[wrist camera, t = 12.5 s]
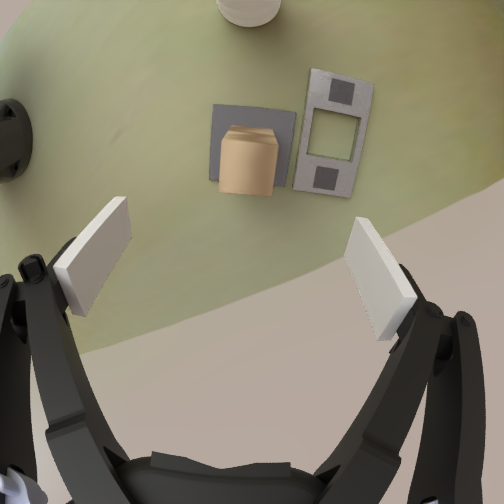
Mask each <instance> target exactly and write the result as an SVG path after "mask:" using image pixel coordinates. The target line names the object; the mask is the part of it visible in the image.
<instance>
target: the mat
mask: <svg viewBox="0 0 504 504" xmlns="http://www.w3.org/2000/svg"><path fill="white" fill-rule="evenodd" d="M295 117H296V112H290V111H283V110H275V109H267V108H257V107H246V106H233V105H215V104H214V105H213V115H212V130H211V147H210V167H209V180H219V175H220V158H221V143H222V139H223V138H224V136H225V134H226V133H227V131H228V130H229V128H230V127H231V125H235V126H248V127H258V128H267V129H273V132H274V135H275V137H276V140H277V143H278V145H279V147H278V154H277V161H276V168H275V176H274V183H273V185H274V186H283V187H285V183H286V177H287V170H288V164H289V157H290V151H291V144H292V137H293V131H294V124H295Z"/></svg>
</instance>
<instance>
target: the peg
mask: <svg viewBox="0 0 504 504" xmlns="http://www.w3.org/2000/svg"><path fill="white" fill-rule="evenodd" d="M278 147H279V145H278V143H277V140H276V137H275V135H274V132H273V129H267V128H258V127H248V126H235V125H231V127H230V128H229V130H228V131H227V133H226V134H225V136H224V138H223V139H222V143H221V158H220V175H219V192H226V193H238V194H249V195H259V196H269V197H272V190H273V183H274V176H275V168H276V161H277V154H278Z"/></svg>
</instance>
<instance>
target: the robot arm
mask: <svg viewBox="0 0 504 504" xmlns="http://www.w3.org/2000/svg"><path fill="white" fill-rule="evenodd" d="M31 150H32V130H31V125H30V121H29V117H28V115H27V112H26V110H25V109H24V107H23V106H22V105H21V104H20V103H19V102H18V101H16V100H14V99H6V100H2V101H0V184H1V183H6V182H10V181H12V180H13V179H15V178H16V177H18V176H20V175H21V174H22V173H23V172H24V170H25V169H26V167H27V165H28V162H29V159H30V156H31ZM131 239H132V234H131V228H130V220H129V213H128V204H127V197H114V198H113V199H112V200H111V201H110V202H109V203H108V204H107V205H106V206H105V207H104V208H103V209H102V210H101V211H100V213H99V214H98V215H97V216H96V217H95V218H94V219H93V220H92V221H91V222H90V223H89V224H88V225H87V227H86V228H85V229H84V230H83V231H82V232H81V233H80V234H79V235H78V237H74V238H72V239H71V240H69V241H68V242H67V243H66V244H65V245H64V246H63V247H62V250H60V251H59V252H58V254H57V255H56V256H55V257H54V258H53V259H52V260H51V262H50V263H49V264H48V265H47V267H46V265H45V263H44V260H43V257H42V255H40V254H33V255H29V256H28V257H26V258H24V259H23V260H22V261H21V262H20V264H19V266H18V270H19V272H20V274H21V277H22V279H23V282H15V279H14V277H13V275H11V274H5V275H2V276H1V277H0V504H47V502H48V498H47V495H46V494H45V492H44V491H42V490H41V488H40V487H39V485H38V484H37V466H36V458H35V451H34V444H33V435H32V424H31V410H30V364H31V355H32V361H33V366H34V371H35V375H36V381H37V385H38V389H39V393H40V396H41V401H42V404H43V407H44V411H45V414H46V417H47V421H48V424H49V428H48V429H47V430H46V431H45V436H46V439H47V443H48V445H49V448H50V451H51V453H52V456H53V458H54V461H55V463H56V466H57V468H58V470H59V472H60V475H61V477H62V479H63V481H64V483H65V485H66V487H67V489H68V491H69V493H70V495H71V497H72V500H71V501H69V502H68V503H66V504H379V502H380V500H381V499H382V497H383V495H384V494H385V492H386V491H387V489H388V487H389V485H390V484H391V482H392V480H393V478H394V476H395V474H396V473H397V470H398V469H399V467H400V464H401V457H400V456H399V451H400V449H401V447H402V445H403V442H404V440H405V438H406V436H407V434H408V432H409V429H410V427H411V425H412V422H413V420H414V417H415V415H416V412H417V409H418V407H419V404H420V402H421V399H422V396H423V394H424V391H425V388H426V385H427V397H426V407H425V415H424V423H423V430H422V436H421V442H420V447H419V453H418V457H417V462H416V466H415V471H414V475H413V479H412V482H411V486H410V491H409V495H408V501H407V504H483V501H482V487H481V486H482V485H481V477H482V470H483V460H484V450H485V429H486V424H485V423H486V416H485V415H486V411H485V410H486V409H485V389H484V388H485V387H484V375H483V366H482V358H481V351H480V345H479V338H478V333H477V328H476V323H475V321H474V319H473V318H472V316H471V315H469V314H468V313H466V312H464V311H458V312H457V313H456V315H455V316H454V318H451V317H448V316H444V315H443V312H442V310H441V309H440V308H439V307H438V306H437V305H436V304H434V303H432V302H429V301H426V299H425V297H424V296H423V294H422V293H421V291H420V289H419V287H418V286H417V284H416V282H415V281H414V279H412V276H411V274H410V273H409V271H408V270H407V269H406V268H405V267H404V266H403V265H402V264H398V263H397V262H396V260H395V259H394V257H393V255H392V254H391V252H390V251H389V249H388V248H387V246H386V245H385V243H384V242H383V240H382V239H381V237H380V236H379V234H378V233H377V231H376V230H375V228H374V227H373V225H372V224H371V223H370V221H369V220H368V218H362V217H356V218H355V222H354V225H353V228H352V231H351V235H350V238H349V241H348V244H347V247H346V250H345V253H344V258H345V260H346V262H347V265H348V267H349V270H350V272H351V274H352V276H353V279H354V281H355V284H356V286H357V289H358V291H359V294H360V296H361V299H362V302H363V304H364V307H365V309H366V312H367V314H368V317H369V320H370V322H371V325H372V328H373V331H374V333H375V336H376V339H377V341H384V340H385V341H386V340H391V339H392V337H393V336H394V334H395V333H396V332H397V334H398V336H399V339H398V340H397V342H396V343H395V344H394V346H393V347H392V349H391V350H390V352H389V353H390V356H389V358H388V360H387V362H386V364H385V367H384V368H383V371H382V372H381V374H380V376H379V378H378V380H377V382H376V384H375V386H374V388H373V389H372V391H371V393H370V395H369V397H368V399H367V400H366V402H365V404H364V405H363V407H362V409H361V410H360V412H359V414H358V415H357V417H356V419H355V420H354V422H353V423H352V425H351V426H350V428H349V429H348V431H347V433H346V434H345V435H344V437H343V438H342V440H341V441H340V443H339V444H338V446H337V447H336V448H335V450H334V451H333V453H332V454H331V455H330V457H329V458H328V459H327V460H326V461H325V462H324V463H323V464H322V465H321V466H320V467H319V468H318V469H317V470H316V472H315V473H314V474H313V475H311V474H309V473H307V472H305V471H302V470H299V469H296V468H291V467H290V462H284V463H254V464H249V465H243V466H238V467H233V468H226V469H218V468H214V467H211V466H208V465H205V464H202V463H200V462H197V461H194V460H191V459H188V458H186V457H181V456H175V455H169V454H164V453H158V452H153V451H152V455H151V457H141V458H137V459H133V460H130V459H129V457H128V456H127V454H126V453H125V451H124V450H123V448H122V447H121V446H120V445H119V443H118V442H117V441H116V439H115V437H114V435H113V433H112V431H111V430H110V428H109V426H108V424H107V422H106V420H105V418H104V416H103V413H102V411H101V409H100V407H99V405H98V403H97V400H96V398H95V396H94V393H93V391H92V388H91V386H90V383H89V381H88V378H87V376H86V373H85V371H84V368H83V365H82V362H81V359H80V357H79V353H78V350H77V347H76V344H75V341H74V338H73V334H72V331H71V328H70V324H69V320H68V317H67V314H66V312H65V310H66V308H67V307H68V305H69V307H70V310H71V312H72V314H74V315H79V316H83V317H86V315H87V313H88V311H89V309H90V308H91V306H92V304H93V302H94V300H95V298H96V297H97V295H98V293H99V291H100V289H101V288H102V286H103V284H104V282H105V281H106V279H107V277H108V276H109V274H110V272H111V270H112V269H113V267H114V266H115V264H116V262H117V261H118V259H119V257H120V256H121V254H122V253H123V251H124V249H125V248H126V246H127V245H128V243H129V242H130V240H131ZM427 382H428V384H427Z"/></svg>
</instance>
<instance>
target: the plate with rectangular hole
mask: <svg viewBox="0 0 504 504" xmlns="http://www.w3.org/2000/svg"><path fill="white" fill-rule="evenodd" d="M373 88H374V84H373V83H370V82H366V81H363V80H359V79H356V78H352V77H348V76H344V75H340V74H336V73H332V72H327V71H323V70H318V69H313V68H311V69H310V71H309V79H308V86H307V94H306V101H305V108H304V114H303V121H302V128H301V134H300V141H299V147H298V153H297V160H296V166H295V172H294V178H293V184H292V188H293V190H299V191H306V192H314V193H321V194H328V195H334V196H341V197H347V198H350V197H351V193H352V189H353V185H354V181H355V177H356V173H357V168H358V164H359V160H360V155H361V151H362V146H363V142H364V137H365V132H366V127H367V122H368V117H369V111H370V106H371V100H372V94H373ZM314 107H315V108H320V109H325V110H330V111H335V112H340V113H344V114H348V115H352V116H357V117H358V121H357V126H356V131H355V137H354V141H353V146H352V151H351V156H350V160H344V159H339V158H334V157H328V156H322V155H316V154H310V153H307V147H308V141H309V135H310V129H311V123H312V116H313V110H314Z"/></svg>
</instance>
